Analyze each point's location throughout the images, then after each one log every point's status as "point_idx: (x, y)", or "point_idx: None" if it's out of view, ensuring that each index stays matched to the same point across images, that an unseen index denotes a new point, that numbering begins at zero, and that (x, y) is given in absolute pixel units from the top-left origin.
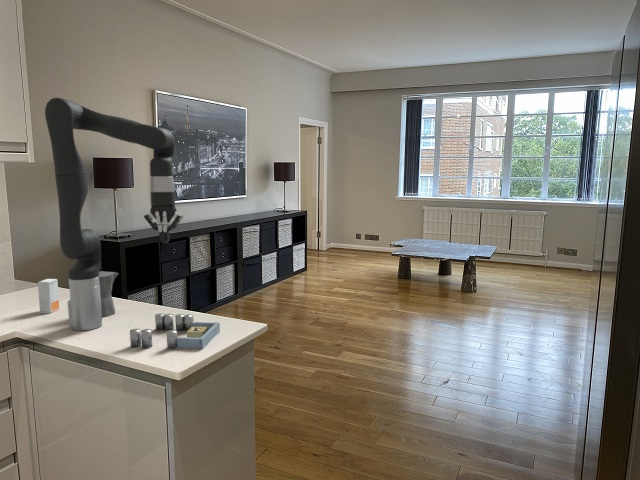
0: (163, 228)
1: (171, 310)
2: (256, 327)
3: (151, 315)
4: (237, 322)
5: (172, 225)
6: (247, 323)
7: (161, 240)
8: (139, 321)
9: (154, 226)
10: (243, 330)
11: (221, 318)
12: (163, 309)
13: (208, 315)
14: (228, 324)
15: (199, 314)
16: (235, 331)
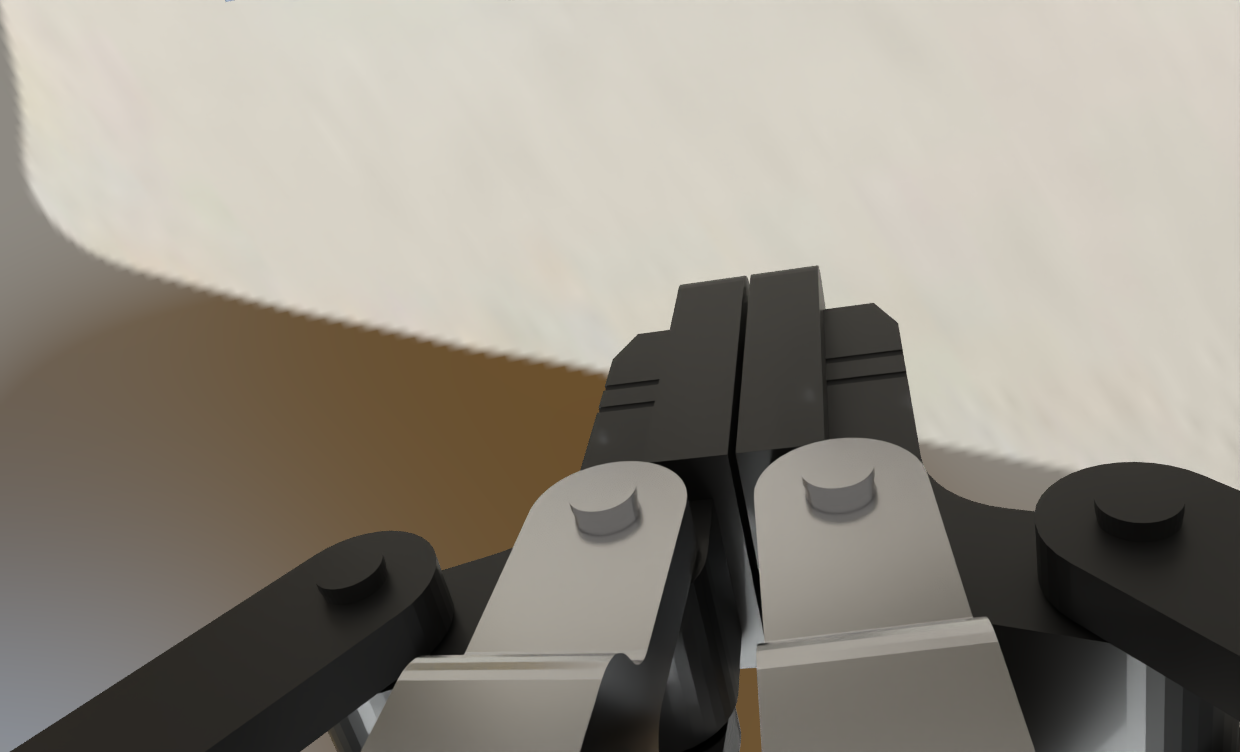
0: (673, 557)
1: (1046, 417)
2: (62, 173)
3: (1175, 238)
4: (281, 251)
5: (192, 692)
6: (191, 248)
7: (805, 293)
8: (1209, 28)
9: (1186, 578)
10: (102, 70)
11: (469, 314)
12: (1143, 428)
13: None
14: (315, 183)
15: None
16: (142, 25)
